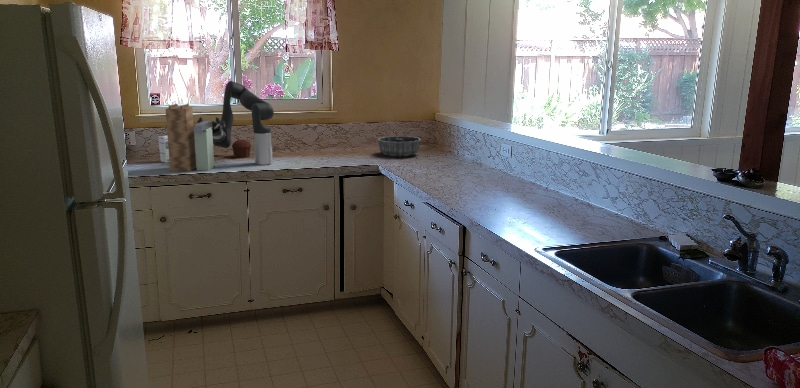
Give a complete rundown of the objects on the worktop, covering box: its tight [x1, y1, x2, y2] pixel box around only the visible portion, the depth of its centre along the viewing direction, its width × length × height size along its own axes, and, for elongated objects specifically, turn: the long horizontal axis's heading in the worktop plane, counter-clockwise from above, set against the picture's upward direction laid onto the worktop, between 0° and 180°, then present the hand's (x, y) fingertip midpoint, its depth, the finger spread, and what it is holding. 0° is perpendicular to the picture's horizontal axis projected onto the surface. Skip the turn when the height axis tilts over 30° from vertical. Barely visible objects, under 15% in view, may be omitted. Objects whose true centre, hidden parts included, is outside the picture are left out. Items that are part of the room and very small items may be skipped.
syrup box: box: [157, 134, 170, 163], centre depth 337 cm, size 6×6×14 cm
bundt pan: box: [376, 135, 422, 158], centre depth 368 cm, size 26×26×10 cm
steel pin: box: [193, 120, 213, 133], centre depth 316 cm, size 4×20×4 cm, turn 3°
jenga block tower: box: [165, 103, 197, 172], centre depth 314 cm, size 10×12×34 cm
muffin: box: [231, 138, 252, 159], centre depth 355 cm, size 12×11×10 cm
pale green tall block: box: [194, 127, 215, 171], centre depth 318 cm, size 6×12×21 cm, turn 3°
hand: (208, 118), depth 326 cm, fingers open, 8 cm apart
